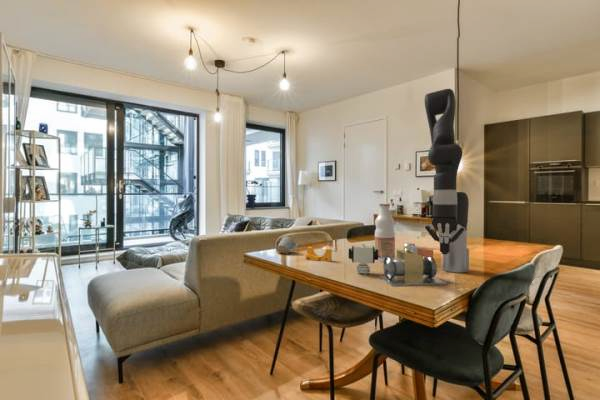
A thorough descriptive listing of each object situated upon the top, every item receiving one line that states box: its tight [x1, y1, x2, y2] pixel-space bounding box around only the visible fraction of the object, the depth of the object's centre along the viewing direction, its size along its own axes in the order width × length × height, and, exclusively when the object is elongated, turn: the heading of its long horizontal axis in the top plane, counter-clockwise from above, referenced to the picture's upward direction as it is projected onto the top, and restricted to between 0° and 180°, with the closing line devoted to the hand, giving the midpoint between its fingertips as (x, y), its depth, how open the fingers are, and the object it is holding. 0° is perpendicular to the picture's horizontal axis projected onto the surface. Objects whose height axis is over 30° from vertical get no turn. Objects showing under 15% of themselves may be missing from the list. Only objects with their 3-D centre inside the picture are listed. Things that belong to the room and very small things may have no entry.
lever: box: [403, 242, 434, 258], centre depth 112 cm, size 4×16×2 cm, turn 7°
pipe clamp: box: [305, 246, 333, 262], centre depth 154 cm, size 12×4×6 cm, turn 61°
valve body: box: [378, 249, 448, 287], centre depth 117 cm, size 20×13×11 cm, turn 97°
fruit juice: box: [374, 203, 396, 264], centre depth 153 cm, size 9×9×28 cm
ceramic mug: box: [276, 236, 299, 254], centre depth 170 cm, size 11×8×8 cm
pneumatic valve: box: [348, 243, 378, 275], centre depth 129 cm, size 6×12×12 cm, turn 79°
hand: (444, 253), depth 108 cm, fingers closed
